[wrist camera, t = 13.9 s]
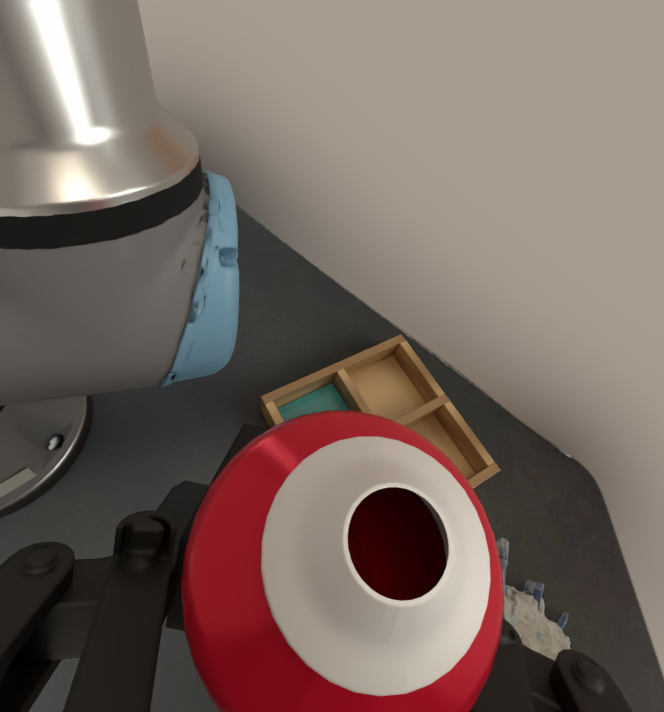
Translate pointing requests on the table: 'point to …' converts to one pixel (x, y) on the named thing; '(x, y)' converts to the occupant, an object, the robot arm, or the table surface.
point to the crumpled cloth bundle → (531, 613)
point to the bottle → (342, 574)
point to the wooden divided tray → (386, 402)
